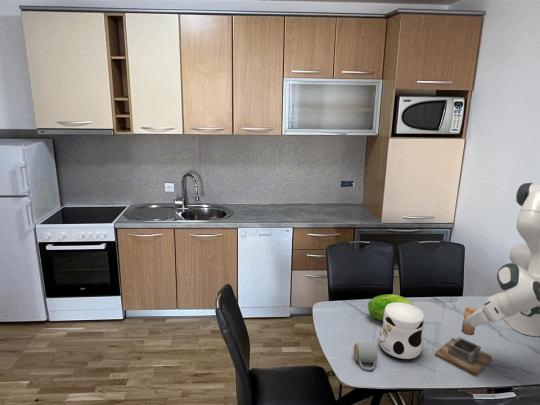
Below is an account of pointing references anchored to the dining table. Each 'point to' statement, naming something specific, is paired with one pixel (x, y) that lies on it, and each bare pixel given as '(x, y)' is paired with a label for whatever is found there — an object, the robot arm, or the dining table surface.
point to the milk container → (402, 330)
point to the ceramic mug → (366, 353)
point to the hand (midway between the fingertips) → (468, 318)
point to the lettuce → (383, 304)
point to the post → (466, 326)
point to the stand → (464, 355)
